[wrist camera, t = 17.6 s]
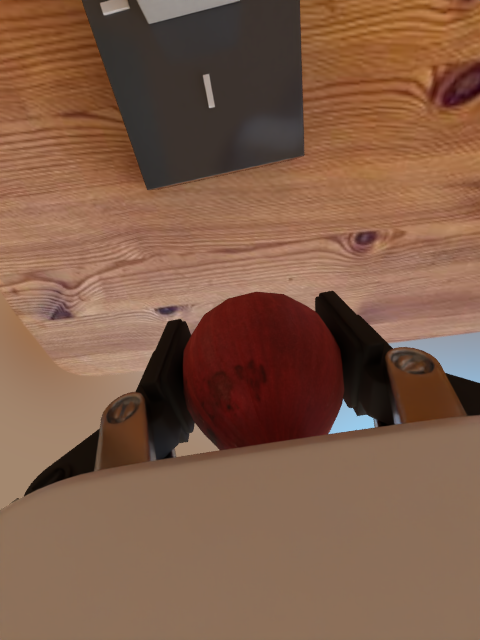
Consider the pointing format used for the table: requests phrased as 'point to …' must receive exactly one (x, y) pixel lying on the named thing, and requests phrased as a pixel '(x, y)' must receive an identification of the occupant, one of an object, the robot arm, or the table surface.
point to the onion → (262, 372)
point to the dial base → (205, 86)
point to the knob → (175, 8)
